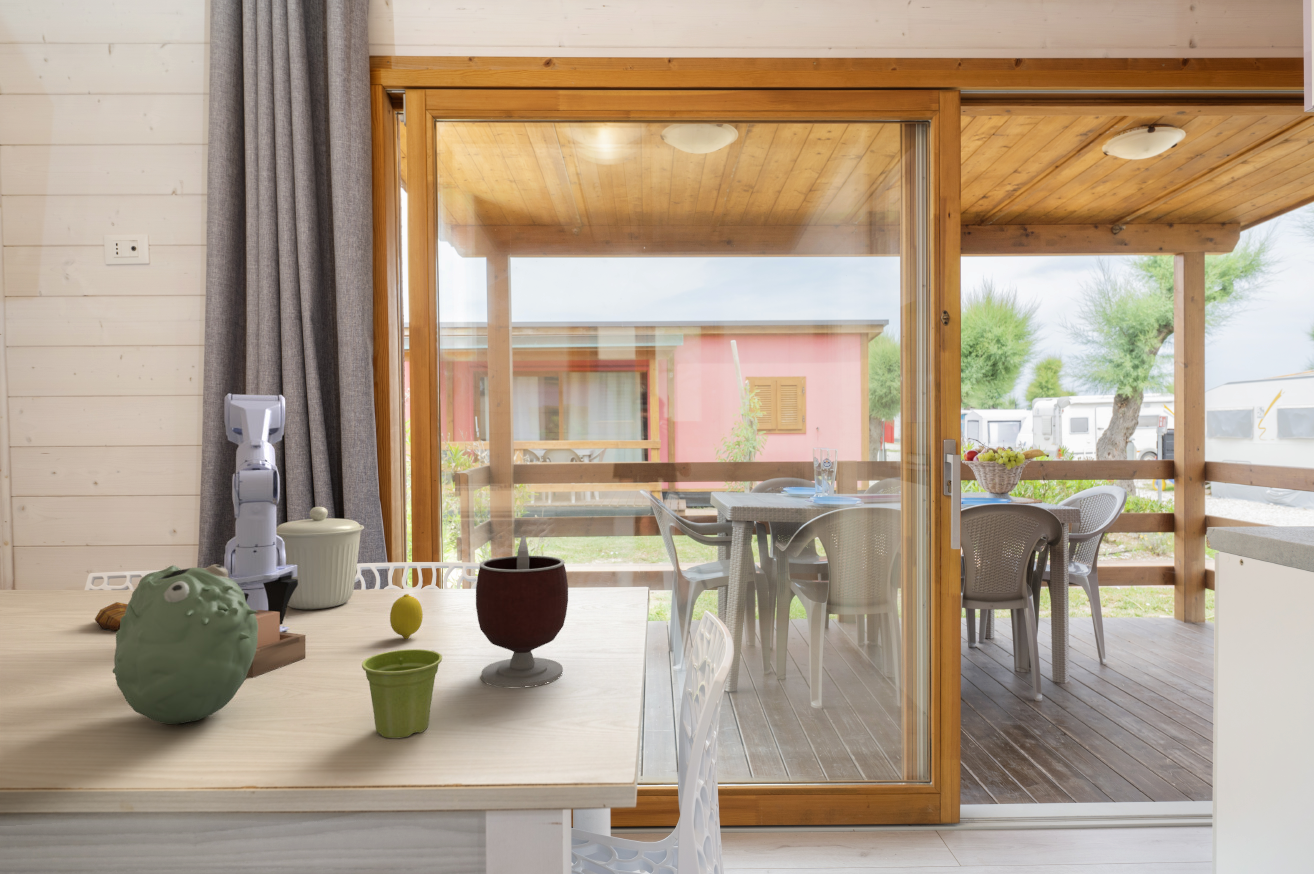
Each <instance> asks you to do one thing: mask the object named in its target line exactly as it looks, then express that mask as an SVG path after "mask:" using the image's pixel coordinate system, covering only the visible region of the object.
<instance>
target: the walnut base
mask: <svg viewBox="0 0 1314 874" xmlns="http://www.w3.org/2000/svg"><path fill="white" fill-rule="evenodd" d="M305 659H306V634H303V633H302V634H299V633H292V632H285V631H283V632H280V641H277V642H274V643H271V644H267V645H264V646H261V647H258V648H256V652H255V656H254V659H253V661H252V664H251V666H250V668H249V670H248V673H247V676H246V677H249V678H254V677H258V676H260V675H263V674H265V673H268V672H272V671H274V670H277V669H279V667H280V668H282V667H285V666H287V664H288V665H290V664H292V662H293V663H296V662H298V660H299V661H301V660H305ZM295 661H296V662H295Z"/></svg>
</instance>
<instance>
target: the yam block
mask: <svg viewBox="0 0 1314 874" xmlns="http://www.w3.org/2000/svg"><path fill="white" fill-rule="evenodd" d="M256 611H257V612H258V613H255V616H256V619H257V623H258V633H257V637H258V642H257V648H258V647H261V646H264V645H267V644H271V643H274V642H277V641H280V626H281V625H280V612H275V611H267V610H256Z"/></svg>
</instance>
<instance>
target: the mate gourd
mask: <svg viewBox="0 0 1314 874" xmlns="http://www.w3.org/2000/svg"><path fill="white" fill-rule="evenodd" d="M519 541H520V542H519V545H518V550H517V555H513V556H510V555H509V556H503V557H502V556H500V557H493V558H489V559H487V560H485V559H484V560H483V561H481V562H480V563H479V569H478V572H477V580H476V587H475V609H476V615H477V621H478V624H479V629H480V631H481V632H482V633H483V634H484V636H485V637H486V638H487V640H488V641H489V642H490V643H491V644H492V645H494V646H497V647H500V648H503V649H506V650H508V651H511V652H513V654H512V657H511V658H509V659H508V658H507V659H503V660H499V661H495V662H493V663H490V664H488V665H486V666H485V667H484V668H483V669H482V670H481V673H480V675H481V677H482V678H481V677H480V678H481V680H482V681H483V682H484V683H485V682H486V683H485V684H487V683H488V684H487V685H491V686H493V687H498V688H504V687H525V686H534V687H536V686H535V685H539V686H541V685H540V684H543V685H546V684H545V683H547V682H550V683H552V682H551V681H553V680H555V681H557V680H558V679H559V678H558V677H560V676H561V677H562V675H563V673H562V672H564V669H563V665H562V664H561V663H560V662H558V661H556V660H553V659H547V658H543V657H534V656H533V653H532V651H534V650H535V649H537V648H539V647H542V646H544V645H547V644H549V643H551V642H553V641H554V640H555V639H556V638H557V635H558V634H559V632H560V631H561V630H562V628H563V627H564V625H565V621H566V616H567V610H568V605H569V604H568V603H569V584H568V575H567V569H566V567H565V560H564V559H563V558H560V557H554V556H547V555H529V549H528V548H529V546H528V543H527V537H526V536H525V535H522V536H521V537H520V540H519ZM561 674H562V675H561ZM561 677H560V678H561ZM557 678H558V679H557ZM556 679H557V680H556ZM553 682H554V681H553ZM547 684H548V683H547ZM525 688H526V687H525Z"/></svg>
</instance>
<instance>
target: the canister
mask: <svg viewBox="0 0 1314 874" xmlns="http://www.w3.org/2000/svg"><path fill="white" fill-rule="evenodd" d="M328 513H329V510H328V509H327V508H325V507H323V506H314V507H313V508H311V509H310V511H309V517H310V518H309V519H299V520H293V521H287V522H283V523H281V524H279V525H278V526H276V535H278V536H279V537H281V538H282V539H283V541H284V545H285V555H286V565H288V564H289V565H297V577H292V579H298V586H297V587H296V588H295V590H294V592H293V594H292V596H291V598H290V600H289V602H288V605H287V607H290V608H291V609H292V608H293V609H298V610H319V609H320V610H321V609H328V608H333V607H338V606H341V605H343V604H346V603H348V601H349V600H350V599H351V597H352V596H353V593H354V588H355V582H356V576H357V575H356V574H357V567H358V559H359V550H360V541H361V533H362V531H363V530H364V529H365V526H364V525H362V524H359V522H358V521H356V520H354V519H347V518H333V517H331V518H327V517H328Z"/></svg>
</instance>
